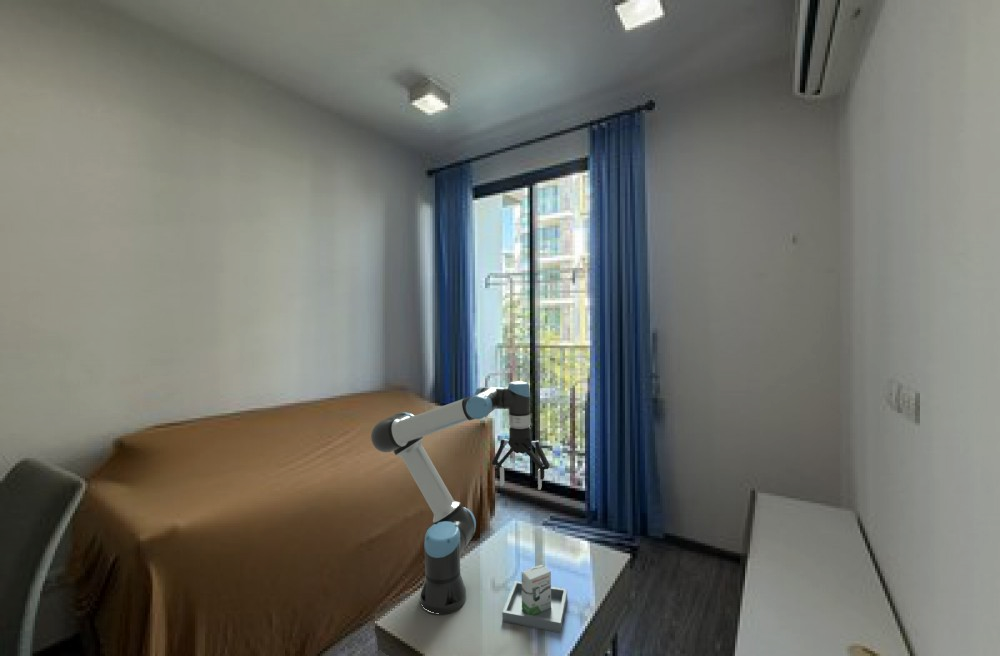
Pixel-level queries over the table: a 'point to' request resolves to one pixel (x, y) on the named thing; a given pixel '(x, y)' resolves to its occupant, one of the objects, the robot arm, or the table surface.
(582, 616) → the table surface
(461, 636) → the table surface
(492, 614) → the table surface
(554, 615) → the parts tray
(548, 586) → the ink box
